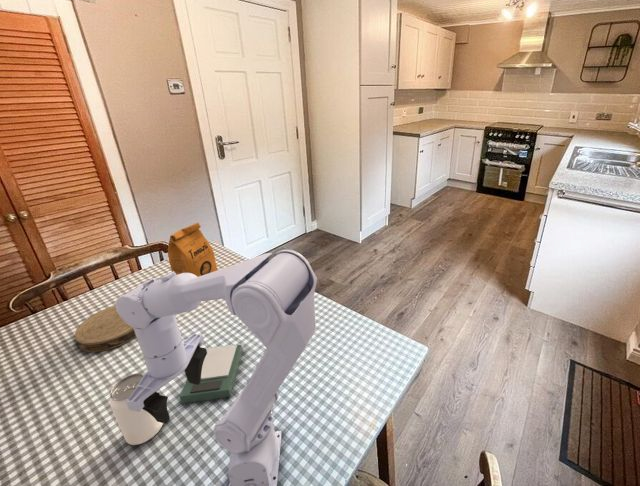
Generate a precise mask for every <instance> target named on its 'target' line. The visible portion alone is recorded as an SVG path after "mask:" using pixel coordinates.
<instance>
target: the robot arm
mask: <svg viewBox="0 0 640 486" xmlns="http://www.w3.org/2000/svg"><path fill="white" fill-rule="evenodd" d="M272 255H273V252H267V253H263V254H259V255H257V256H254V257H251V258H249V259H246V260H244V261H240V262H238V263H235V264H232V265H229V266H226V267H223V268H220V269H218V270H217V271H214V272H211V273H208V274H205V275H202V276H199V277H197V276H196V275H194V274H191V273H181V274H178V275H176V273H175V272H172V271H171V272H168V273H166V274H165V275H163V276H161V277H151V278H150V279H148V280H146V281H145V282H142V283H141V284H139V285H138V286H136V287H135V288H133V289H131V290H130V291H128V292H126V293H124V294H123V295H121V296H120V297H119V298H117V299H116V301H115V305H114V306H116V310H117V312H118V314H119V316H120V317H121V318H122V320H123V321H124V322H126V323H127V324H128V325H130V326H131V327H133V329H134V331H135V334H136V337H135V338H136V339H137V342H138V346H139V348H140V351H141V354H142V358H143V360H144V362H145V366H146V369H147V370H146V371H145V373H144V374H145V375H144V376H143V378H142V379H141V381H140V383H139V384H138V386H137V387H136V389H135V391H134V392H133V393H132V395H131V396H130V397H129V398H128V399H127V400H126V403H127V406H128V408H129V410H133V411H137V412H140V411H141V410H142V409H143V410H145V411H147V412H148V413H149V414H151V415H152V416H153V417H154V418H155V419H156V421H157V422H161V423H163V424H168V423H169V421H170V416H171V415H170V414H169V411H168V398H169V396H166V395H162V394H160V392H157V391H159V390H160V389H162V388H163V387H164V386H166V385H168V383H170V382H171V381H173V380H175V378H177V377H178V376H179V375H181V374H182V373H185V377H186V381H187V380H188V381H189V383H192V384H196V385H199V383H200V381H201V372H202V366H203V362H204V359H205V357H206V355H207V350H206V347H201V346H203V345H204V343H205V339H204V336H203V334H201V333H193V334H192V335H190V336H189V337H188V338H186V339H185V340H183V338H182V337H183V336H182V334H181V330H180V326H179V323H178V319H177V315H180V314H185V313H188V312H189V313H190V312H191V311H194V310H196V309H197V308H198V307H199V306H200V305H201V303H202V302H207V301H208V302H209V301H215V300H217V301H218V300H223V299H224V300H225V304H226V306H227V309H228V310H229V312H230V313H231V315H233V316H236V317H237V318H238V320H240V322H242V323H243V324H244V326H245V327H246V328H248V330H249V332H251V333H252V334H253V335H254V336H255V338H257V340H258V341H260V343H261V344H262V345H263V346H264V347H265V351H264V353H263V354H262V356H261V358H260V360H259V361H258V364H257V365H256V367H255V369H254V370H253V372H252V374H251V376H250V378H249V379H248V381H247V382H246V385H245V386H244V387H243V389H242V390H241V392H240V393H239V394H238V396H237V397H236V399H235V400H234V401H233V402H232V404H230V406H229V408H228V409H227V410H226V412H225V413H224V415H223V416H222V418H221V419H220V420H219V421H217V423H216V424H215V425H214V426H213V434H214V438H215V440H216V441H217V444H218V445H220V446H221V447H222V448H223V449H225V450H226V451H228V452H230V462H229V466H228V471H227V476H228V481H229V483H228V486H278V477H279V467H280V466H279V465H280V456H281V446H282V445H281V443H282V434H283V433H282V431H281V430H275V426H274V419H273V412H274V411H275V410H274V409H275V408H274V405H275V404H276V403H277V401H278V400H279V389H280V388H281V386H282V384H284V381H285V380H286V379H287V377H288V376H289V374H290V372H291V371H292V370H293V367H294V366H295V364H296V363H297V361H298V360H299V358H300V357H301V355H302V354H303V352H304V351H305V350H306V347H307V346H308V344H309V343H310V341H311V340H312V338H313V336H314V334H315V332H316V328H317V327H316V312H315V311H316V310H315V291H316V288H317V287H316V286H317V283H318V278H317V275H316V274H315V272H314V270H313V268H312V267H311V264H310V262H309V260H308V259H307V258H306V257H305V256H304V255H302V254H301V253H299V252H298V251H295V250H293V249H282V250H279V251H277V252H276V253H275V254H274V255H273V256H272ZM271 256H272V258H271ZM270 258H271V259H270Z"/></svg>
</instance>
